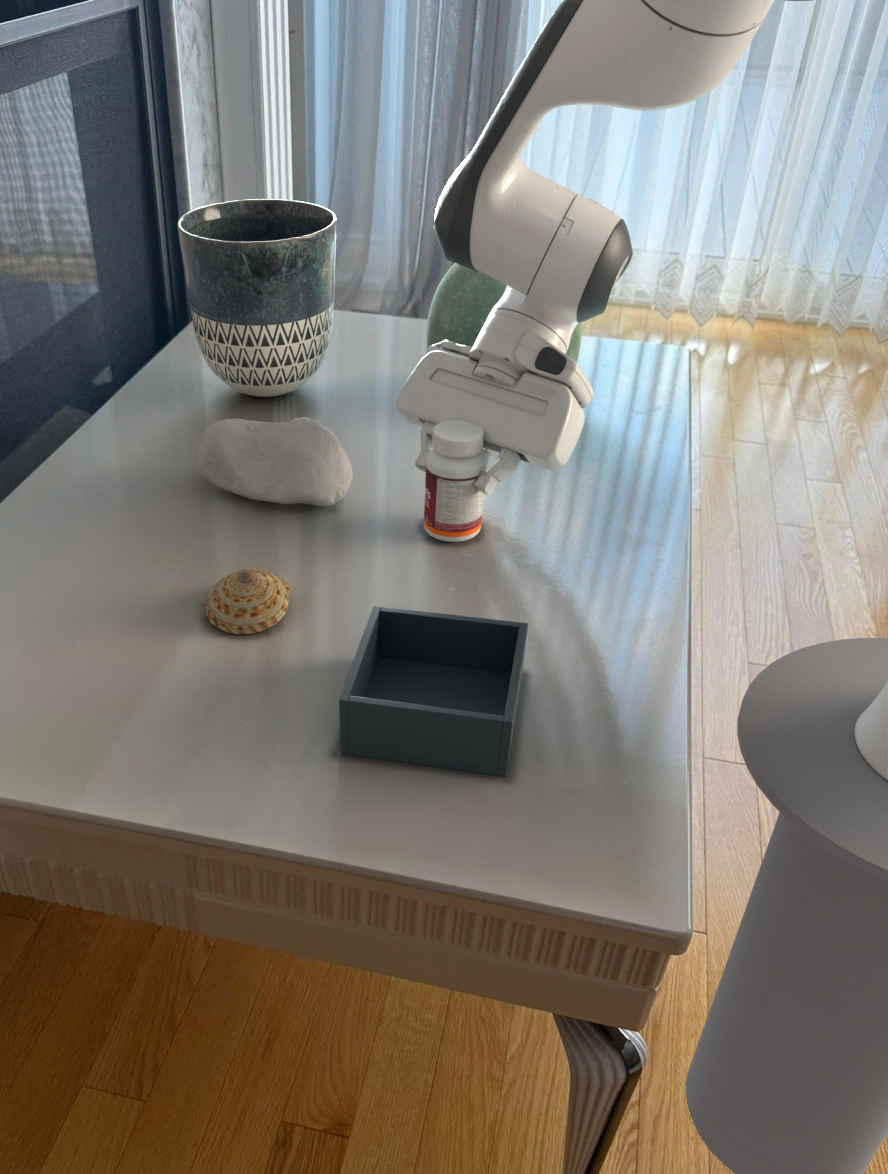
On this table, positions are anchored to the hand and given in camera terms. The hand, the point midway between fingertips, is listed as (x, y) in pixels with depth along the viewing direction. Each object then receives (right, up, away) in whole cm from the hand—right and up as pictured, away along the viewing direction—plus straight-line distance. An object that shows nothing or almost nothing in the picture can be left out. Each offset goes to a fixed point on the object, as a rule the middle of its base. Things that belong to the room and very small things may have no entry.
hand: (451, 480), depth 108 cm
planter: (-22, +20, +34) cm, 45 cm away
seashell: (-20, -14, -7) cm, 26 cm away
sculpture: (+9, +17, +30) cm, 36 cm away
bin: (-3, -24, -20) cm, 31 cm away
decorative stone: (-19, +1, +11) cm, 22 cm away
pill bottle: (+1, -4, +4) cm, 6 cm away
